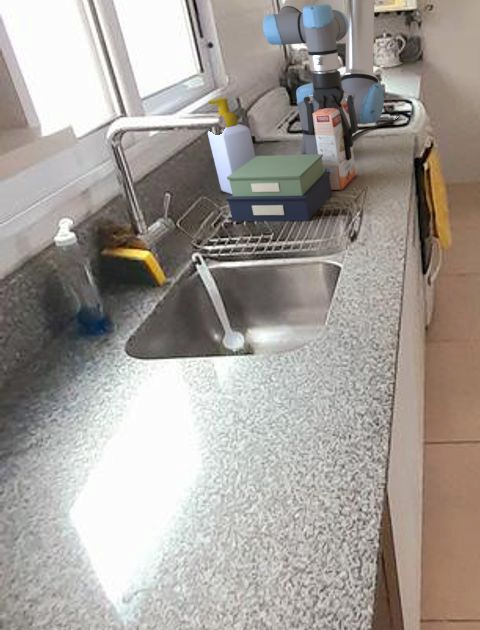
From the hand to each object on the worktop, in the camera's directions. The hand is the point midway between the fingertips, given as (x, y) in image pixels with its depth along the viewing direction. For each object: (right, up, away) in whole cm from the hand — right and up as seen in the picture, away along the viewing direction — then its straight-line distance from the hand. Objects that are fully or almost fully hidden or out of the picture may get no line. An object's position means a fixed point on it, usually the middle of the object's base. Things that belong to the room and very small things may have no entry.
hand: (337, 158), depth 169 cm
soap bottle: (-28, -8, +4) cm, 29 cm away
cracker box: (0, -6, +4) cm, 7 cm away
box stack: (-12, -15, -11) cm, 23 cm away
